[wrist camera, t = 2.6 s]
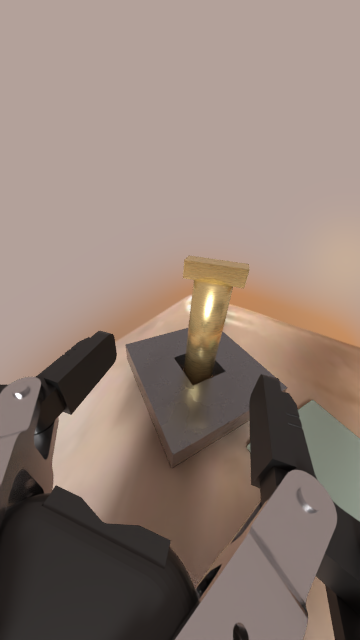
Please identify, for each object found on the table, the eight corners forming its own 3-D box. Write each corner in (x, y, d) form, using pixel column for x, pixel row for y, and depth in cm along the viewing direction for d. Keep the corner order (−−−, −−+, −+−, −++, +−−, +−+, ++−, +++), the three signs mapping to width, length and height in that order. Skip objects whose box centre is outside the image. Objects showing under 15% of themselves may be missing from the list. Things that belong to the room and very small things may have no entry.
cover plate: (208, 334, 36) (211, 321, 35) (278, 401, 25) (287, 387, 23) (127, 359, 29) (125, 344, 28) (171, 468, 18) (172, 454, 16)
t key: (218, 374, 28) (248, 261, 19) (215, 396, 25) (249, 273, 16) (180, 363, 29) (191, 253, 20) (172, 383, 26) (181, 262, 17)
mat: (310, 402, 25) (312, 399, 25) (443, 514, 16) (449, 512, 16) (246, 447, 20) (248, 444, 20) (390, 645, 11) (397, 646, 11)
